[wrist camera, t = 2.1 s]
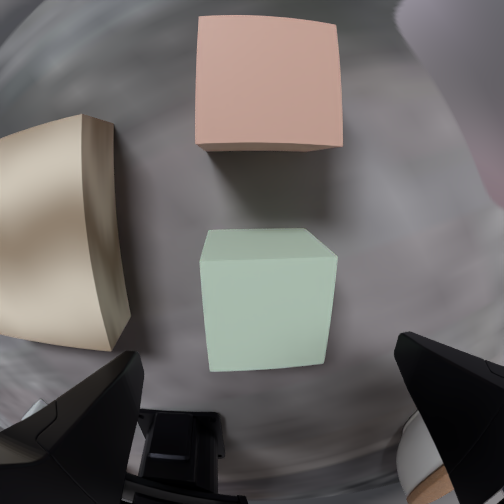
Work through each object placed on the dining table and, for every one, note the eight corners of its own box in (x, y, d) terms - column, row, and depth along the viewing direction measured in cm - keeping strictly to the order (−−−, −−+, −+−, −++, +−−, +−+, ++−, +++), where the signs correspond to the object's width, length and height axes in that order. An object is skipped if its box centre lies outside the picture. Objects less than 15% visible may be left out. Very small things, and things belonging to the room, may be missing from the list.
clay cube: (305, 152, 14) (342, 146, 9) (206, 151, 13) (195, 144, 9) (303, 63, 12) (335, 25, 8) (207, 61, 12) (199, 16, 7)
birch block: (132, 313, 16) (111, 351, 12) (10, 304, 15) (-19, 329, 11) (116, 124, 13) (81, 113, 9) (-12, 157, 12) (-50, 161, 8)
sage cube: (299, 311, 16) (323, 363, 12) (213, 315, 16) (209, 371, 11) (304, 227, 15) (337, 256, 10) (208, 229, 15) (199, 261, 10)
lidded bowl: (472, 402, 23) (514, 455, 13) (393, 461, 25) (423, 523, 14) (470, 350, 20) (536, 417, 9) (365, 429, 21) (407, 519, 11)
